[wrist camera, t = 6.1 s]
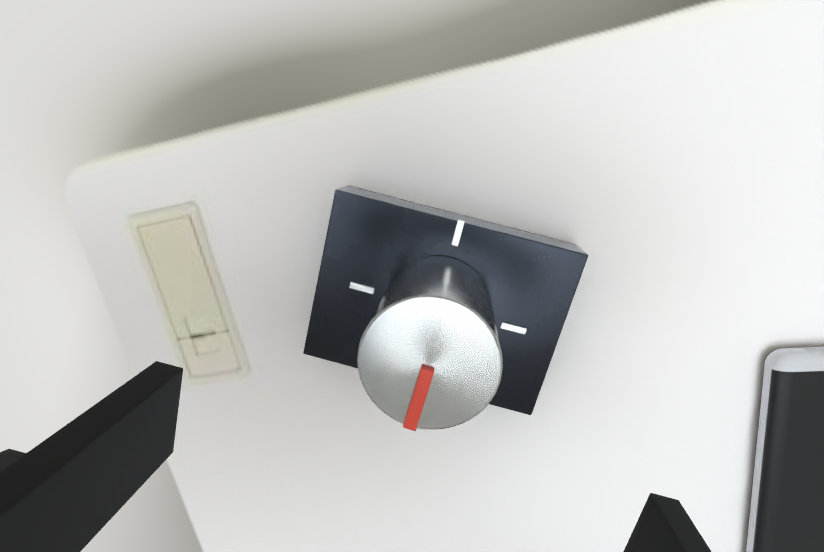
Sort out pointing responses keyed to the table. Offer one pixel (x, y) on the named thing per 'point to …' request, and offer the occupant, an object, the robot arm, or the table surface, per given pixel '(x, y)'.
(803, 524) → the smartphone
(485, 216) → the table surface
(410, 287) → the knob
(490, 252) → the control panel
